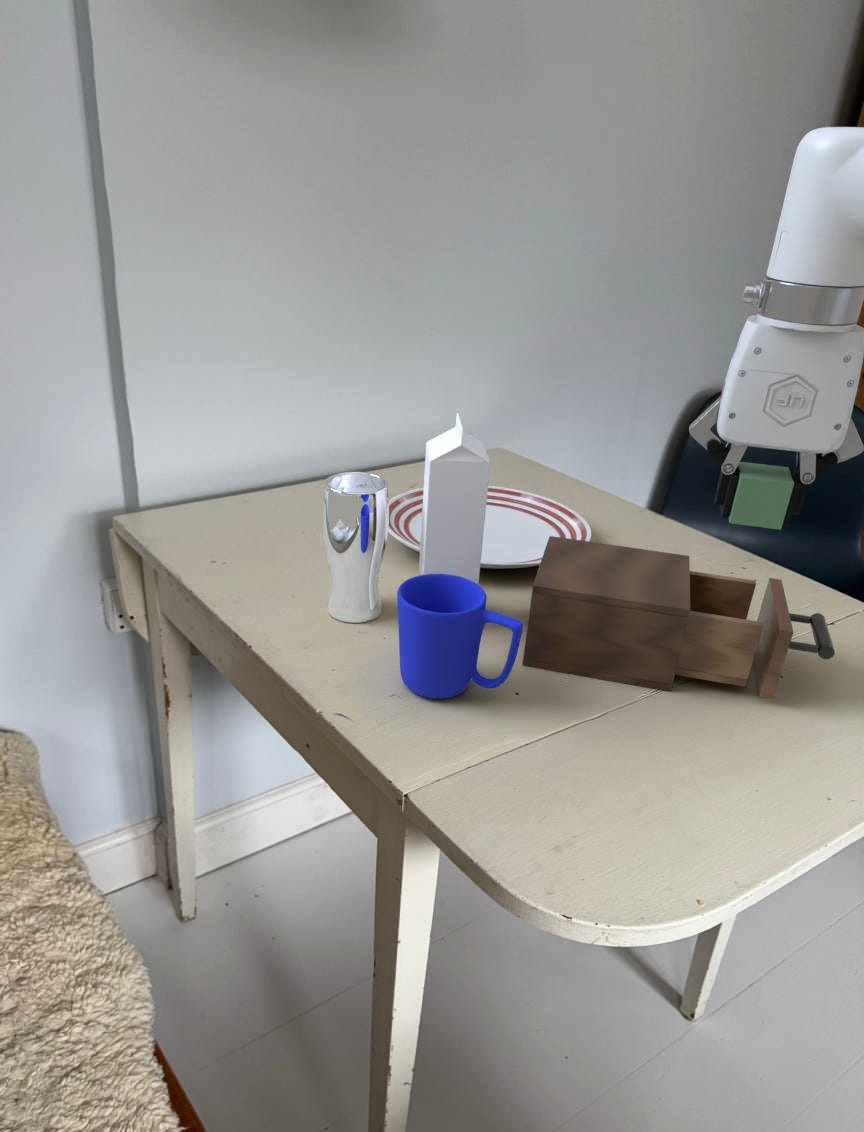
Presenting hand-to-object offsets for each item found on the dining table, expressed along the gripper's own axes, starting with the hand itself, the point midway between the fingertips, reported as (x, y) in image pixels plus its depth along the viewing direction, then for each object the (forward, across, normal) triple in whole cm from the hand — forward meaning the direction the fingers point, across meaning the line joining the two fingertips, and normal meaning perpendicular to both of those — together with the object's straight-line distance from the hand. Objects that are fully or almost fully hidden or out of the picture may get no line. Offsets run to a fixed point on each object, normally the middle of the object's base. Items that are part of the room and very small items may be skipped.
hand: (753, 514), depth 79 cm
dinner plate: (+17, -28, +25) cm, 41 cm away
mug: (+17, -24, -11) cm, 32 cm away
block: (0, 0, 0) cm, 0 cm away
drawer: (+16, +1, +1) cm, 16 cm away
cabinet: (+17, -11, +2) cm, 21 cm away
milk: (+17, -28, +3) cm, 33 cm away
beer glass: (+17, -38, +1) cm, 42 cm away
